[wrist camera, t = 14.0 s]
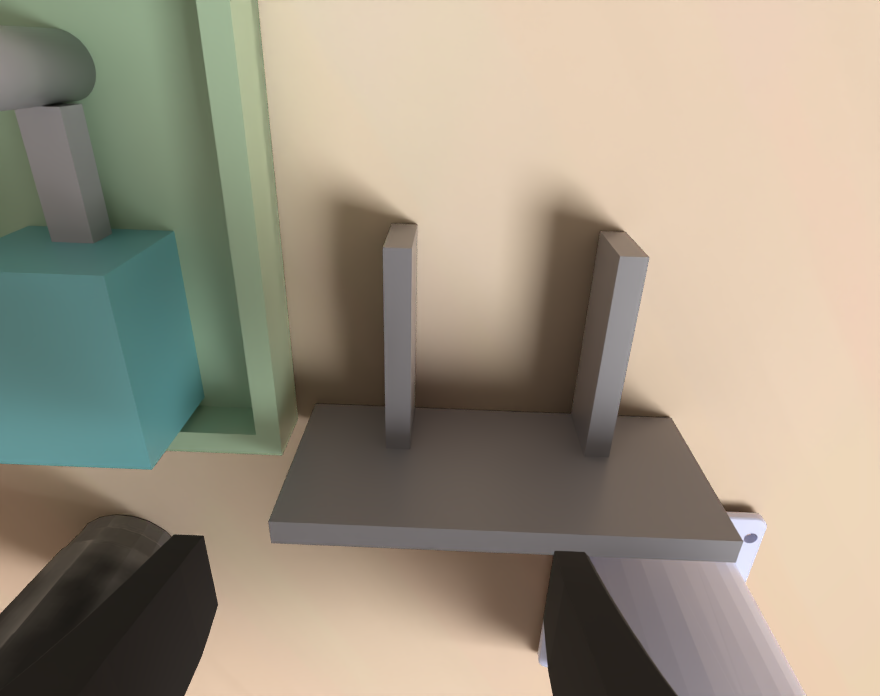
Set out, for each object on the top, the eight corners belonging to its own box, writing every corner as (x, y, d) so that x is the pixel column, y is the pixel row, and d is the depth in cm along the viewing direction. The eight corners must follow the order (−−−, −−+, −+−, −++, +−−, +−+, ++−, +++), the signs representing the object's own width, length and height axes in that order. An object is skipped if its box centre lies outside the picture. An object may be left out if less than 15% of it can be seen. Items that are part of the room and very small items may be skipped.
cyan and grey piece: (204, 397, 21) (116, 518, 15) (78, 392, 21) (-54, 511, 15) (137, 30, 15) (-33, 20, 10) (-31, 25, 15) (-288, 12, 10)
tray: (298, 418, 22) (282, 455, 20) (15, 407, 22) (-29, 442, 20) (249, -83, 15) (217, -103, 13) (-166, -96, 15) (-260, -119, 13)
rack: (666, 435, 22) (735, 562, 16) (316, 421, 22) (271, 543, 16) (717, 235, 18) (826, 312, 13) (301, 219, 18) (236, 290, 13)
